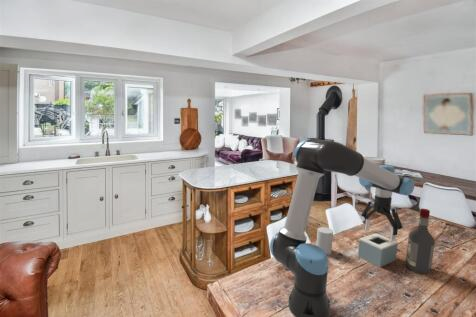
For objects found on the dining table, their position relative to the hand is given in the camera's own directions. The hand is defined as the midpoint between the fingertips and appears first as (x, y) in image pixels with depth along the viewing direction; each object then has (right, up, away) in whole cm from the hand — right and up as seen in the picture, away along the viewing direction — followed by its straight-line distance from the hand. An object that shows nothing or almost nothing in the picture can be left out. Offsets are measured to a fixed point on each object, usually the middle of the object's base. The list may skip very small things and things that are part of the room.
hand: (379, 235), depth 135 cm
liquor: (+15, -14, -7) cm, 22 cm away
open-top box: (0, -13, +2) cm, 13 cm away
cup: (-26, -11, +9) cm, 29 cm away
